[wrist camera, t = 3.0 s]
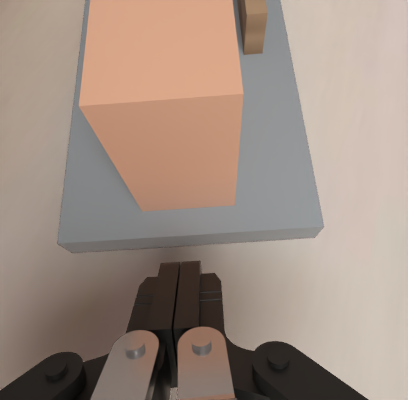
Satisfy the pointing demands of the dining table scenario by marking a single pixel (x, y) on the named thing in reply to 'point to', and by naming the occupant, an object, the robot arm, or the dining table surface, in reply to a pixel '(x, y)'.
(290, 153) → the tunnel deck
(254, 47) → the tunnel walls
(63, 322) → the dining table surface
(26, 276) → the dining table surface
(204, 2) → the clay block
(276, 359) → the robot arm
